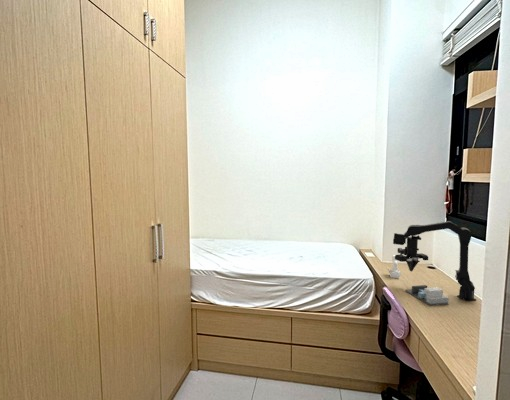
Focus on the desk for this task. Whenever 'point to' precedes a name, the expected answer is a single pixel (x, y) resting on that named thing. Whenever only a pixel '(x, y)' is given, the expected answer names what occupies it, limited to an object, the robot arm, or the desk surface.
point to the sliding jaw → (419, 290)
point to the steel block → (432, 292)
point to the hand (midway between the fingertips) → (410, 271)
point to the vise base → (431, 299)
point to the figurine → (394, 269)
